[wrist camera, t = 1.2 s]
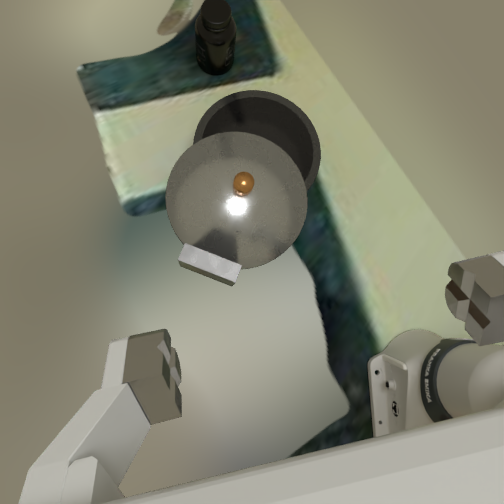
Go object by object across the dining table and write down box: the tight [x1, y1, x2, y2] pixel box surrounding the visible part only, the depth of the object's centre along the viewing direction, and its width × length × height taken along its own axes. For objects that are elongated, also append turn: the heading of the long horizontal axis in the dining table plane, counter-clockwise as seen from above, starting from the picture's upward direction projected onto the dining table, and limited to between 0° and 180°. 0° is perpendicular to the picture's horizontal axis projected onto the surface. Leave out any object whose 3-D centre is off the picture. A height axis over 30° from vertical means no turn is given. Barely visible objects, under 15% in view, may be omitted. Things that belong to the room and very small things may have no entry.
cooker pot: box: [193, 90, 321, 192], centre depth 67 cm, size 20×20×9 cm
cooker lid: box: [166, 132, 307, 286], centre depth 58 cm, size 23×21×6 cm
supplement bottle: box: [195, 0, 236, 75], centre depth 69 cm, size 7×7×12 cm
